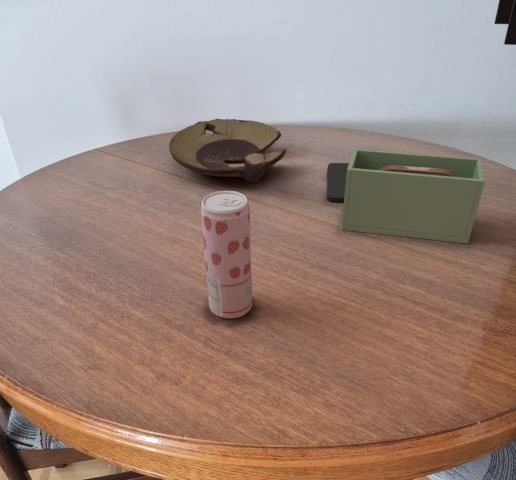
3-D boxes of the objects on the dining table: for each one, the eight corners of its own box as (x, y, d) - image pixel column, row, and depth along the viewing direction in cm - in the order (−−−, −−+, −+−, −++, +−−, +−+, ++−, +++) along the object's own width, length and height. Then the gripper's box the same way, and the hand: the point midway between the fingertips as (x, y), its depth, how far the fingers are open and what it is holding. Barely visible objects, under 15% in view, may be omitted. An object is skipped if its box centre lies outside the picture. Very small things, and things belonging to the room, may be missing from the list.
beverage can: (256, 316, 70) (254, 208, 60) (212, 322, 69) (203, 214, 59) (247, 291, 74) (244, 187, 64) (206, 297, 73) (196, 192, 63)
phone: (326, 197, 94) (327, 162, 105) (326, 201, 94) (327, 166, 105) (370, 198, 93) (366, 163, 104) (369, 203, 93) (365, 167, 105)
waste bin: (466, 218, 89) (481, 158, 82) (468, 243, 83) (485, 181, 76) (348, 206, 93) (353, 148, 86) (341, 230, 87) (347, 169, 80)
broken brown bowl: (280, 141, 116) (281, 103, 111) (293, 204, 94) (294, 161, 89) (176, 144, 116) (172, 106, 111) (163, 208, 93) (157, 165, 88)
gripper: (511, -168, 72) (475, 16, 86) (540, -185, 54) (488, 53, 67) (572, -172, 71) (525, 16, 84) (624, -190, 52) (553, 55, 66)
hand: (509, 33), depth 76 cm, fingers open, 13 cm apart
